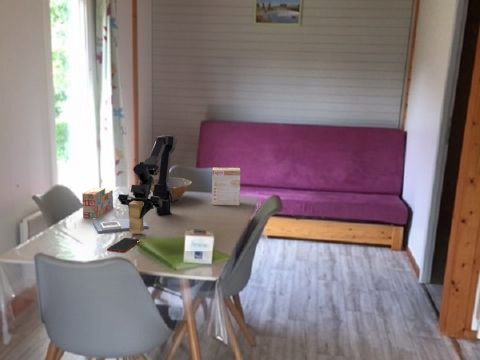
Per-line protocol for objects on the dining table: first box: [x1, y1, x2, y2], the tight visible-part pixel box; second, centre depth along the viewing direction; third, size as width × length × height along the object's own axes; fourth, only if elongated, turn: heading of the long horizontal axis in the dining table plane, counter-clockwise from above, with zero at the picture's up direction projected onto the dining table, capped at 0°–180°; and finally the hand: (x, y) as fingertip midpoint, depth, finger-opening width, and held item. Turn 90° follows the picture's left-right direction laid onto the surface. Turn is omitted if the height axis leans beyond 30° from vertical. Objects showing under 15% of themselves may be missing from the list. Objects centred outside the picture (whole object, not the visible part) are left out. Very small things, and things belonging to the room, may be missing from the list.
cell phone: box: [106, 237, 140, 254], centre depth 194 cm, size 8×15×1 cm, turn 164°
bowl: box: [150, 176, 192, 202], centre depth 267 cm, size 25×25×10 cm
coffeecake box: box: [211, 166, 241, 206], centre depth 261 cm, size 15×7×20 cm, turn 92°
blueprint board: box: [92, 217, 149, 234], centre depth 219 cm, size 22×14×2 cm, turn 116°
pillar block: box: [128, 201, 144, 234], centre depth 207 cm, size 4×4×13 cm
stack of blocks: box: [81, 187, 114, 219], centre depth 238 cm, size 21×6×12 cm, turn 172°
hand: (135, 217), depth 206 cm, fingers closed on pillar block, 4 cm apart
